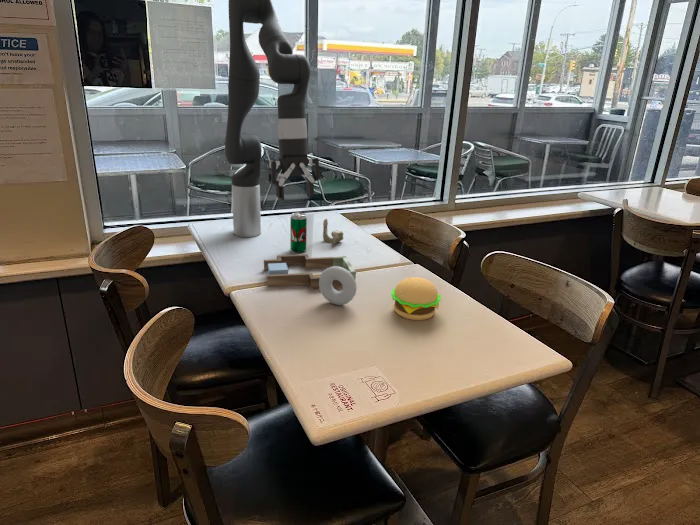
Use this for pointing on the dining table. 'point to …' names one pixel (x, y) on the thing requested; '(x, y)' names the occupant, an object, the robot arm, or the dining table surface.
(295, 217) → the soda can
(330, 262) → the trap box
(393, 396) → the dining table surface
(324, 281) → the donut
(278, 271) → the block
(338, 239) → the bone
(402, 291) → the toy cheeseburger
